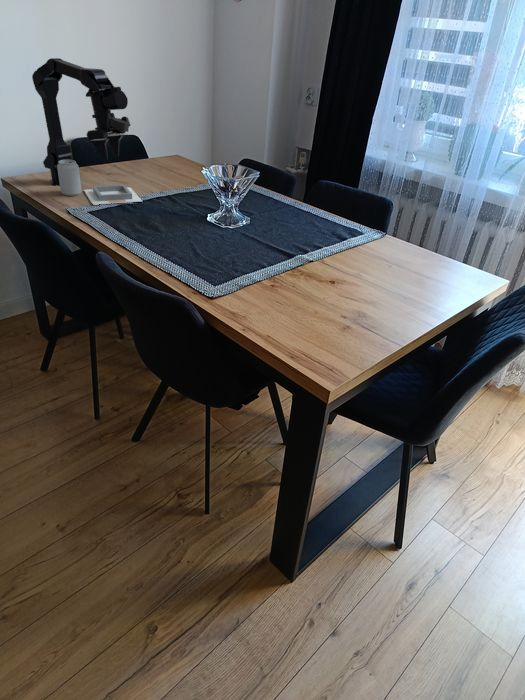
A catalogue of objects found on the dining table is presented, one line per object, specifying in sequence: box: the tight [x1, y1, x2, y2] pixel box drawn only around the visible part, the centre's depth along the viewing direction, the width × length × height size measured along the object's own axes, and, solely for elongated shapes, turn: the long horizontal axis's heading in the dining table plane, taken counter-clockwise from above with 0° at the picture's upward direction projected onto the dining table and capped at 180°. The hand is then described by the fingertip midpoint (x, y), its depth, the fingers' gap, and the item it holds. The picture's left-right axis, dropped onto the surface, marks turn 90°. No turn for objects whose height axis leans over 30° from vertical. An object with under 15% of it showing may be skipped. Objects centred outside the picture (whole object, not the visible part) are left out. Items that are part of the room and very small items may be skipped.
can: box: [57, 159, 82, 197], centre depth 186 cm, size 8×8×12 cm
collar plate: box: [83, 184, 143, 206], centre depth 189 cm, size 18×18×3 cm
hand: (111, 158), depth 179 cm, fingers open, 9 cm apart
